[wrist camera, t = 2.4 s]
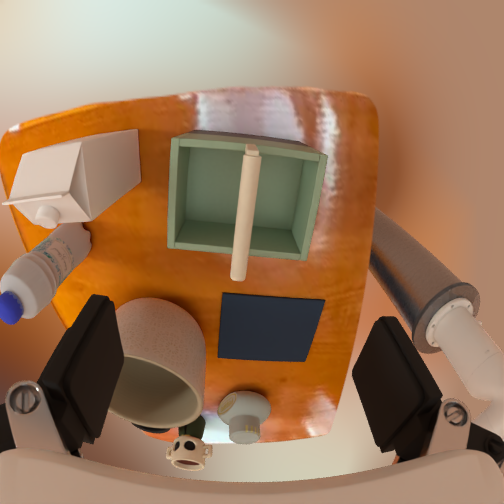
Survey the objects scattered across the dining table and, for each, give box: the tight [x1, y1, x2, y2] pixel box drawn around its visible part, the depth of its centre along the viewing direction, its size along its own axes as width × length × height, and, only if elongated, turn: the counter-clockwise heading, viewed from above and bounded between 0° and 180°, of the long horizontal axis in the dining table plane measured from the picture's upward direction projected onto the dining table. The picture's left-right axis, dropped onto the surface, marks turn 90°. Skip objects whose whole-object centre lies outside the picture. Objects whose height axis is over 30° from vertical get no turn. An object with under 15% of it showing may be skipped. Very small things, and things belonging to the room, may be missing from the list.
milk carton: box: [2, 129, 141, 228], centre depth 26 cm, size 7×7×19 cm
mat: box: [218, 293, 325, 362], centre depth 48 cm, size 16×14×1 cm
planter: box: [108, 298, 206, 428], centre depth 40 cm, size 17×17×15 cm
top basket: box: [167, 133, 328, 281], centre depth 26 cm, size 13×10×12 cm
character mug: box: [166, 416, 212, 471], centre depth 54 cm, size 11×7×13 cm, turn 106°
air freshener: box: [217, 391, 271, 444], centre depth 52 cm, size 11×8×10 cm
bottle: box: [0, 222, 92, 324], centre depth 30 cm, size 7×7×20 cm
